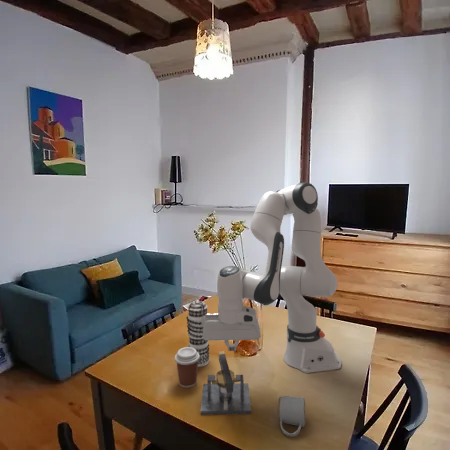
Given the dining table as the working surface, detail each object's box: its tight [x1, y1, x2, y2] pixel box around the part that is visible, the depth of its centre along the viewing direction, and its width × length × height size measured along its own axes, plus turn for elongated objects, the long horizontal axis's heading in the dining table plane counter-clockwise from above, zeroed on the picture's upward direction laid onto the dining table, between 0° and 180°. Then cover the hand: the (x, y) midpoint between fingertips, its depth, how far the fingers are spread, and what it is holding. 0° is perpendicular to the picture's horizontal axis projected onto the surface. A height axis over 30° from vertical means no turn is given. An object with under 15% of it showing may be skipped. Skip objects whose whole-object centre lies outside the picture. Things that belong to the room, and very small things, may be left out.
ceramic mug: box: [276, 395, 306, 438], centre depth 99 cm, size 11×8×8 cm
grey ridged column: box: [185, 300, 210, 368], centre depth 133 cm, size 9×9×25 cm
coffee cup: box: [174, 346, 200, 388], centre depth 120 cm, size 9×9×12 cm
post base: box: [200, 374, 252, 416], centre depth 111 cm, size 16×14×8 cm
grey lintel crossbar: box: [211, 350, 240, 393], centre depth 110 cm, size 19×9×6 cm, turn 9°
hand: (232, 350), depth 116 cm, fingers closed
